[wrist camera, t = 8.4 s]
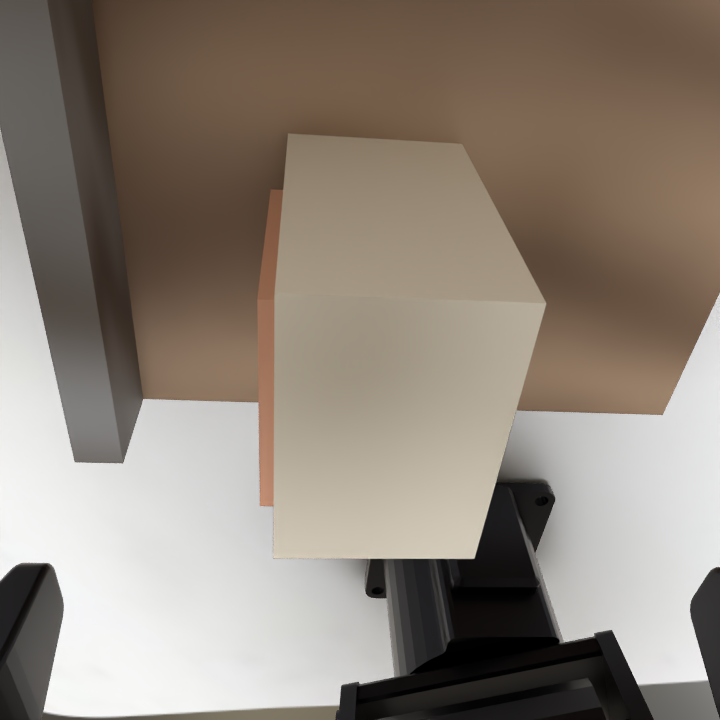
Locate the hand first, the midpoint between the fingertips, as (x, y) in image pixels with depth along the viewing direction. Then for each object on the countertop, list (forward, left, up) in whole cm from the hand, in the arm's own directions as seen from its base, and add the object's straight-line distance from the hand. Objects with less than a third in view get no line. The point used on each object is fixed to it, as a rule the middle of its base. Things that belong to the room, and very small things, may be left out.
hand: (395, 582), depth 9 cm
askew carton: (0, 0, -10) cm, 10 cm away
